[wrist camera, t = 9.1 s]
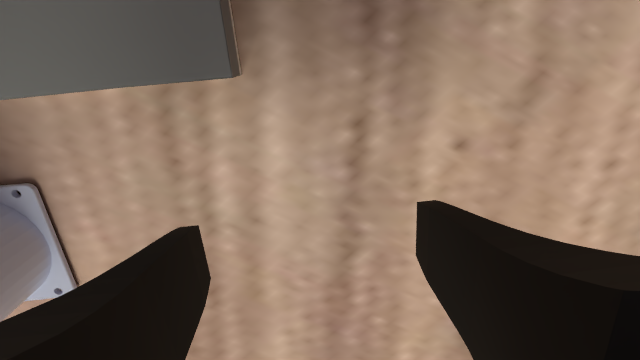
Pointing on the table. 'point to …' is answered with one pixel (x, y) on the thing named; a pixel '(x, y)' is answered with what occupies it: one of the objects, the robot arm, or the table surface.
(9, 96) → the grill press
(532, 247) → the robot arm
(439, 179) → the table surface
